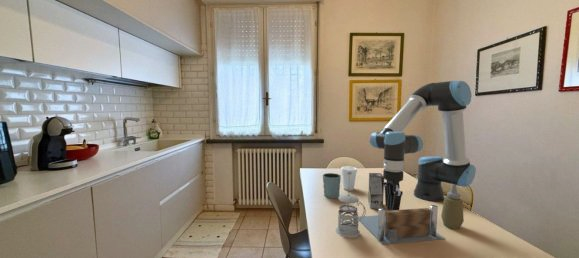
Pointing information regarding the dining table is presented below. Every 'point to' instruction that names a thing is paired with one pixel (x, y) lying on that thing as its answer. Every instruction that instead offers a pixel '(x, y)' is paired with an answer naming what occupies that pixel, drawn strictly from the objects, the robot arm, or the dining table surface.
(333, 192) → the grey-green cup
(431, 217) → the posts
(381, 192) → the coffee box
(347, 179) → the foam cup
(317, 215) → the dining table surface
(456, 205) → the squeeze bottle
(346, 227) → the french press
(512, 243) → the dining table surface
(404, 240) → the mat
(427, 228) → the wooden plank
